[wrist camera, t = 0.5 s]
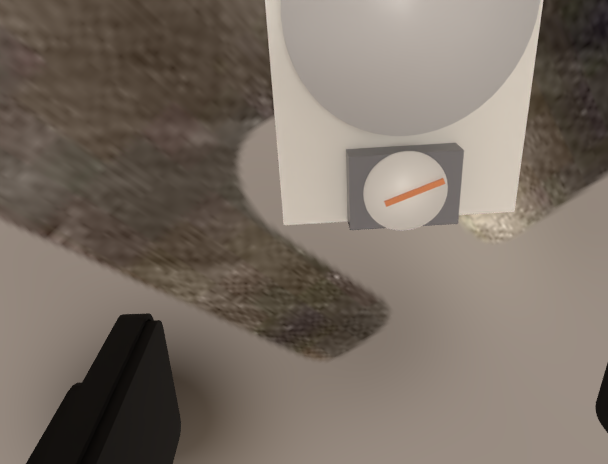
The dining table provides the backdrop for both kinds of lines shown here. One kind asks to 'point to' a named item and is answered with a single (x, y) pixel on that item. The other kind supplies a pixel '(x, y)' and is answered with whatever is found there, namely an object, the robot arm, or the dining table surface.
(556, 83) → the dining table surface
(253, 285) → the dining table surface
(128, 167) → the dining table surface
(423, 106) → the dial scale
